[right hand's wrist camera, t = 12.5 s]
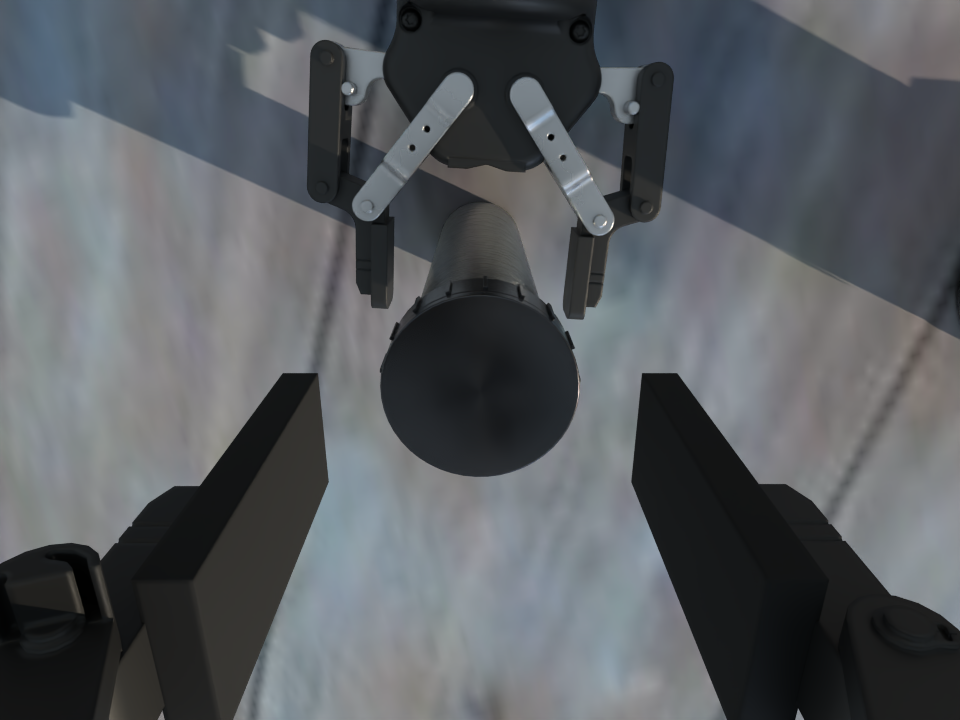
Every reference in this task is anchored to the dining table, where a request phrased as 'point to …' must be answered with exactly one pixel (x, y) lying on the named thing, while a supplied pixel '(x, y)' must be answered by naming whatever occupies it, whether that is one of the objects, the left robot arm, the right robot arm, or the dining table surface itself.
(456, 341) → the lid
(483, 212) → the dark grey cylinder
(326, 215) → the dining table surface
